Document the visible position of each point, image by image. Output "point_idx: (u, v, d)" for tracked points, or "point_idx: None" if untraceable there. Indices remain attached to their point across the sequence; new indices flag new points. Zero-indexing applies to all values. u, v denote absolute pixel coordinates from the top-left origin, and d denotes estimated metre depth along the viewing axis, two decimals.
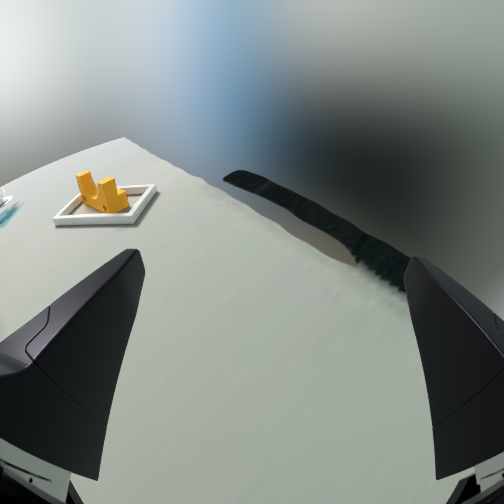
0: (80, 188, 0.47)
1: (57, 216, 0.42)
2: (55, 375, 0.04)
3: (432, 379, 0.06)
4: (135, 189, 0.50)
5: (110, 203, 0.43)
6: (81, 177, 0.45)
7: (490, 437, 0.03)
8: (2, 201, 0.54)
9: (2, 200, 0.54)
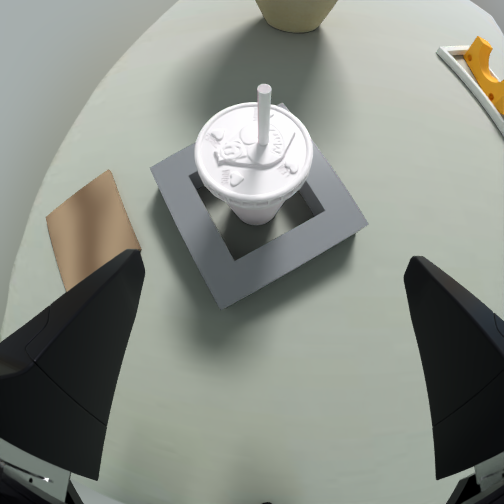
0: (473, 48, 0.24)
1: (445, 50, 0.25)
2: (55, 375, 0.04)
3: (432, 379, 0.06)
4: None
5: (500, 102, 0.23)
6: (483, 45, 0.21)
7: (490, 437, 0.03)
8: None
9: None
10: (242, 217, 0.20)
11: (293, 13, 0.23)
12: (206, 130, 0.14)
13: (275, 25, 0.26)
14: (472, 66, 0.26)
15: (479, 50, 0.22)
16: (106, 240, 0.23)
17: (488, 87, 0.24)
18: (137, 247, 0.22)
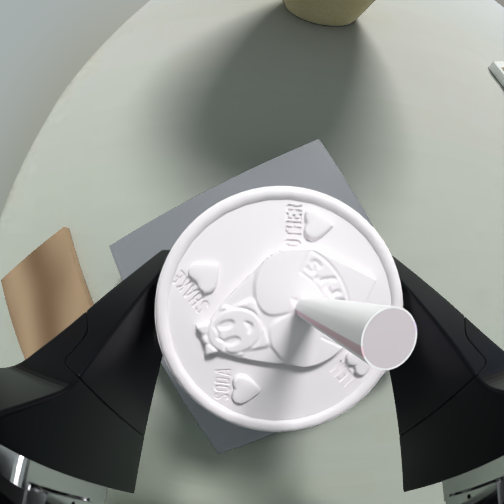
0: None
1: (499, 66, 0.17)
2: (100, 389, 0.04)
3: (398, 386, 0.06)
4: None
5: None
6: None
7: (455, 454, 0.03)
8: None
9: None
10: None
11: None
12: (178, 261, 0.07)
13: (299, 13, 0.18)
14: None
15: None
16: None
17: None
18: None
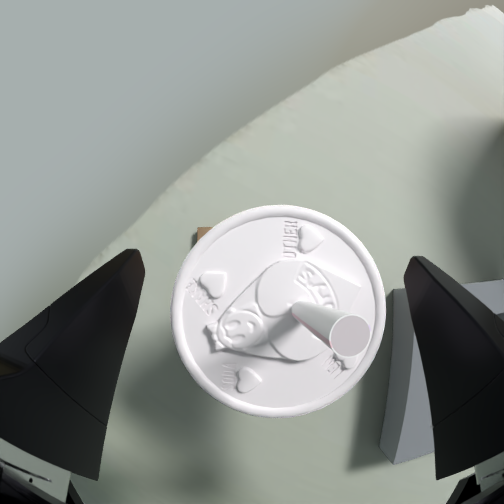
0: None
1: None
2: (55, 375, 0.04)
3: (432, 379, 0.06)
4: None
5: None
6: None
7: (490, 437, 0.03)
8: None
9: None
10: None
11: None
12: (190, 270, 0.08)
13: None
14: None
15: None
16: None
17: None
18: None
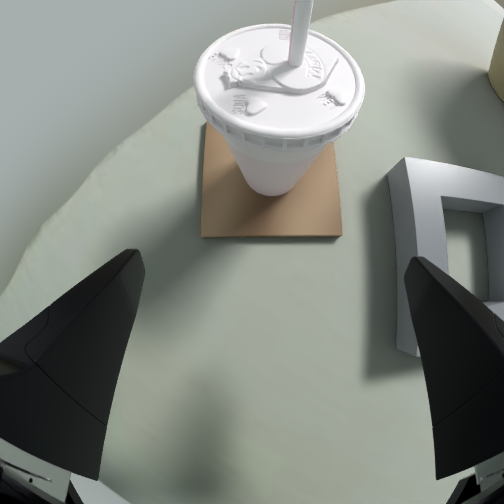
0: None
1: None
2: (55, 375, 0.04)
3: (432, 379, 0.06)
4: None
5: None
6: None
7: (490, 437, 0.03)
8: None
9: None
10: (255, 181, 0.15)
11: None
12: (212, 50, 0.09)
13: (498, 90, 0.19)
14: None
15: None
16: (300, 199, 0.18)
17: None
18: (340, 232, 0.17)
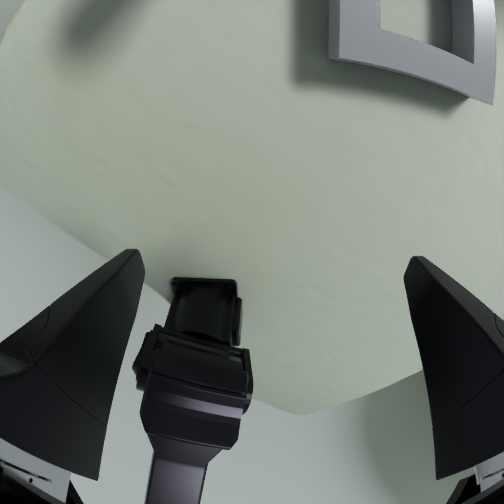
0: None
1: None
2: (55, 375, 0.04)
3: (432, 379, 0.06)
4: None
5: None
6: None
7: (490, 437, 0.03)
8: None
9: None
10: None
11: None
12: None
13: None
14: None
15: None
16: None
17: None
18: None
